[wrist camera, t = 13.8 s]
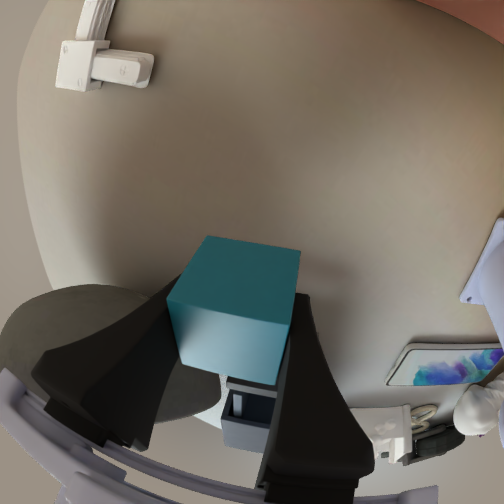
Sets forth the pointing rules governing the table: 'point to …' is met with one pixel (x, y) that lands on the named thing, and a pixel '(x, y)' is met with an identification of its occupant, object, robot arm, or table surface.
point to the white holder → (387, 429)
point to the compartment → (242, 430)
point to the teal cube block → (235, 308)
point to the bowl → (85, 324)
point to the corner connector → (99, 55)
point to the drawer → (253, 399)
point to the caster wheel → (431, 444)
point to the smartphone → (444, 364)
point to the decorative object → (421, 420)
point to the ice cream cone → (479, 407)
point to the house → (476, 14)
